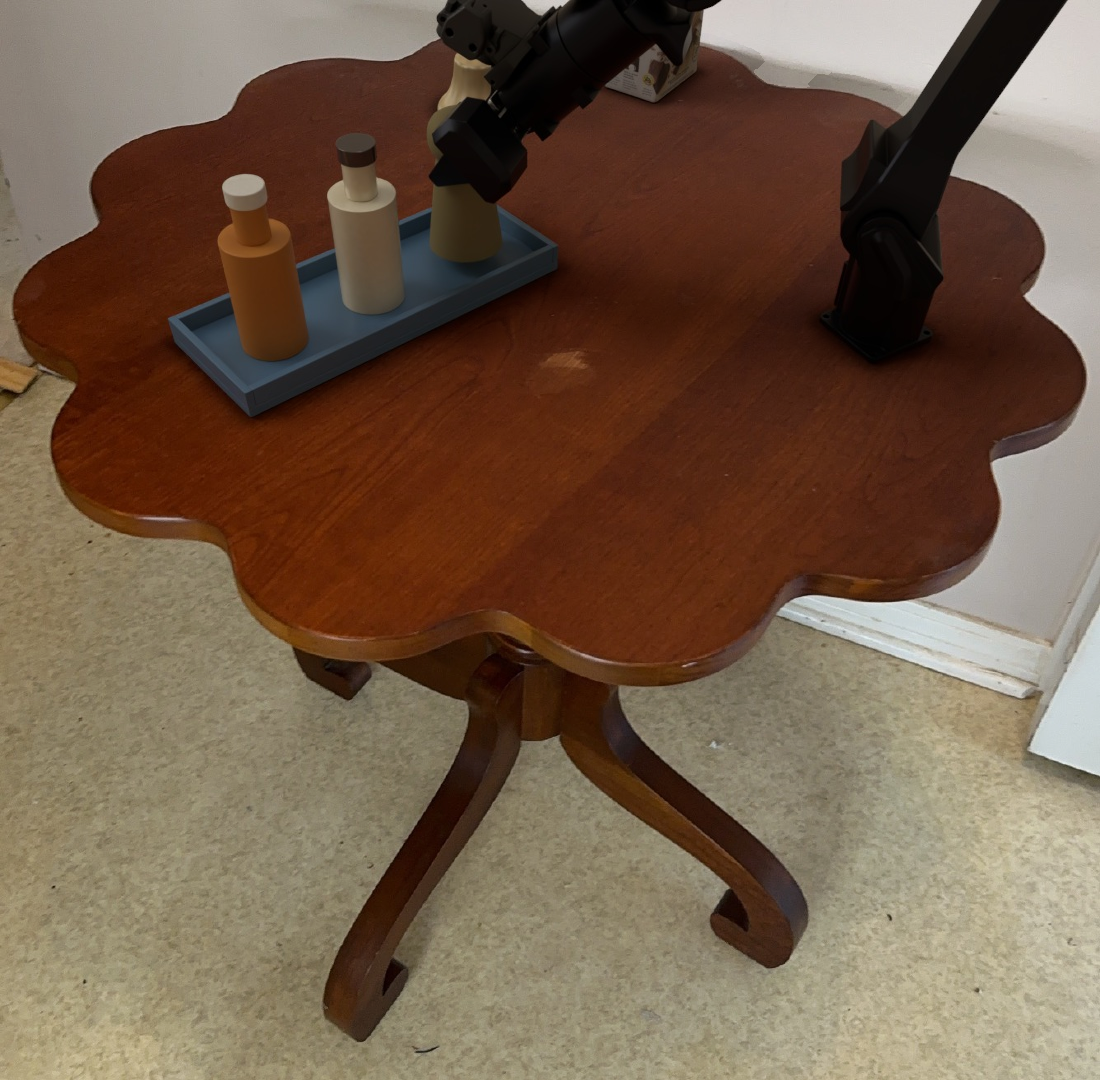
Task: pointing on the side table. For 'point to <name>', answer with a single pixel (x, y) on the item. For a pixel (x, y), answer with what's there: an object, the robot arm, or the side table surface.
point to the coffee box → (658, 70)
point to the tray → (352, 336)
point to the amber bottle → (261, 274)
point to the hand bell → (466, 82)
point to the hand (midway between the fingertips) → (446, 164)
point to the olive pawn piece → (461, 215)
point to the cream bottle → (365, 230)
